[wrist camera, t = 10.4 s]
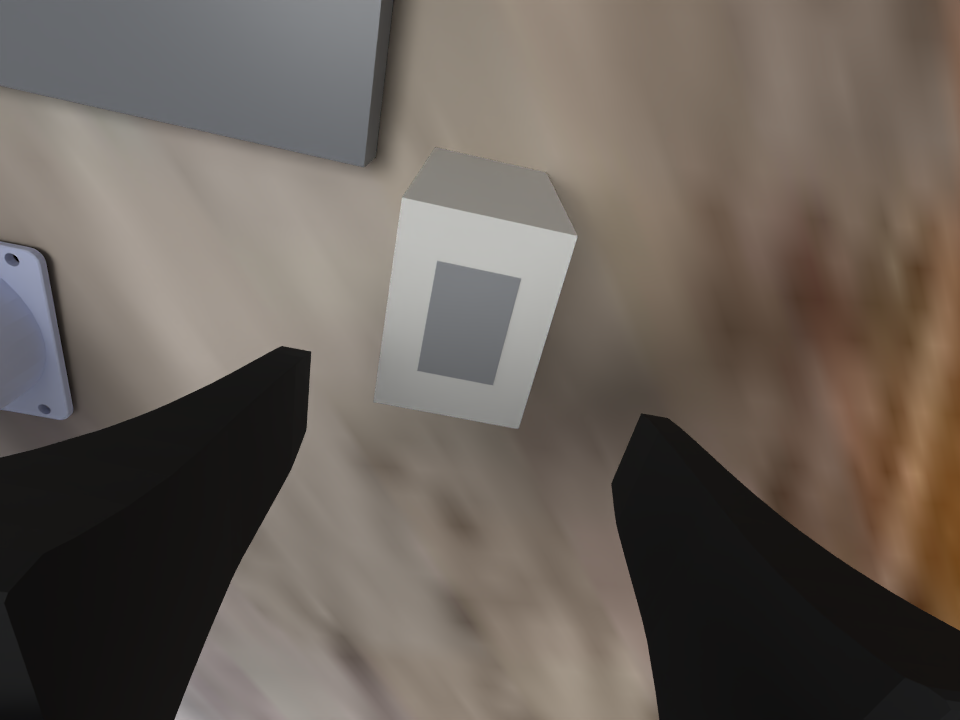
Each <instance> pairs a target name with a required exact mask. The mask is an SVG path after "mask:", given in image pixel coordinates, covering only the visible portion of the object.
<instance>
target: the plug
mask: <svg viewBox="0 0 960 720" xmlns="http://www.w3.org/2000/svg"><path fill="white" fill-rule="evenodd" d="M577 237H578V236H577V234H576V232H575V230H574V228H573V226H572V223H571V221H570V219H569V217H568V215H567V213H566V211H565V209H564V207H563V205H562V203H561V201H560V199H559V197H558V195H557V193H556V191H555V189H554V187H553V185H552V183H551V181H550V179H549V177H548V175H547V173H546V172H543V171H539V170H534V169H530V168H526V167H521V166H517V165H513V164H508V163H504V162H500V161H495V160H491V159H486V158H482V157H478V156H473V155H469V154H465V153H460V152H456V151H451V150H447V149H443V148H438V147H435V148H434V150H433V151H432V153H431V154H430V156H429V157H428V159H427V160H426V162H425V163H424V165H423V167H422V168H421V170H420V171H419V173H418V174H417V176H416V177H415V179H414V180H413V182H412V183H411V185H410V186H409V188H408V189H407V191H406V192H405V194H404V195H403V197H402V202H401V209H400V216H399V223H398V231H397V238H396V245H395V252H394V259H393V266H392V273H391V280H390V288H389V295H388V302H387V309H386V316H385V323H384V330H383V338H382V345H381V352H380V359H379V366H378V373H377V380H376V387H375V395H374V402H375V403H381V404H386V405H391V406H397V407H402V408H407V409H413V410H418V411H424V412H429V413H434V414H440V415H445V416H450V417H456V418H461V419H467V420H472V421H477V422H483V423H488V424H493V425H499V426H504V427H510V428H515V429H519V426H520V422H521V419H522V416H523V413H524V409H525V406H526V403H527V400H528V396H529V393H530V390H531V387H532V383H533V380H534V377H535V374H536V370H537V367H538V364H539V361H540V357H541V354H542V351H543V347H544V344H545V341H546V338H547V334H548V331H549V328H550V325H551V321H552V318H553V315H554V312H555V308H556V305H557V302H558V299H559V295H560V292H561V289H562V285H563V282H564V279H565V276H566V272H567V269H568V266H569V263H570V259H571V256H572V253H573V250H574V246H575V243H576V240H577Z"/></svg>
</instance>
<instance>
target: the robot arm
mask: <svg viewBox="0 0 960 720" xmlns="http://www.w3.org/2000/svg"><path fill="white" fill-rule="evenodd" d="M13 254H14V255H15V256H16V257H17V258H18V260H19V262H18V261H16V260H15V259H14V257H13ZM310 363H311V352H310V351H305V350H300V349H294V348H289V347H284V346H281V347H279V348H277V349H275V350H273V351H271V352H269V353H267V354H265V355H264V356H262V357H260V358H258V359H256V360H255V361H253V362H251V363H249V364H247V365H245V366H244V367H242V368H240V369H238V370H236V371H234V372H232V373H231V374H229V375H227V376H225V377H223V378H221V379H219V380H217V381H215V382H214V383H212V384H210V385H208V386H205V387H203V388H201V389H199V390H197V391H195V392H193V393H190V394H188V395H186V396H184V397H182V398H180V399H178V400H176V401H173V402H171V403H169V404H167V405H165V406H162V407H160V408H158V409H155V410H153V411H150V412H148V413H145V414H143V415H140V416H138V417H135V418H132V419H130V420H127V421H124V422H121V423H119V424H116V425H113V426H111V427H108V428H105V429H102V430H99V431H95V432H92V433H89V434H85V435H82V436H79V437H75V438H72V439H68V440H65V441H62V442H58V443H55V444H52V445H48V446H45V447H42V448H38V449H34V450H30V451H26V452H22V453H18V454H14V455H10V456H6V457H2V458H0V720H174V719H175V716H176V714H177V711H178V709H179V706H180V704H181V701H182V698H183V696H184V693H185V691H186V688H187V686H188V683H189V680H190V678H191V675H192V673H193V670H194V668H195V666H196V663H197V661H198V658H199V656H200V653H201V651H202V648H203V646H204V644H205V641H206V639H207V636H208V634H209V631H210V629H211V626H212V624H213V622H214V619H215V617H216V615H217V612H218V610H219V608H220V605H221V603H222V601H223V598H224V596H225V594H226V591H227V589H228V587H229V584H230V582H231V580H232V577H233V575H234V573H235V571H236V569H237V567H238V565H239V563H240V561H241V559H242V557H243V556H244V554H245V552H246V550H247V549H248V547H249V545H250V543H251V541H252V540H253V538H254V536H255V534H256V532H257V531H258V529H259V527H260V525H261V523H262V522H263V520H264V518H265V516H266V514H267V513H268V511H269V509H270V507H271V505H272V504H273V502H274V500H275V498H276V496H277V495H278V493H279V491H280V489H281V487H282V485H283V484H284V482H285V480H286V478H287V476H288V474H289V472H290V471H291V468H292V466H293V463H294V461H295V458H296V456H297V453H298V451H299V448H300V446H301V443H302V440H303V438H304V435H305V432H306V428H307V411H308V395H309V379H310ZM47 406H48V407H49V408H48V407H47ZM0 410H6V411H11V412H17V413H23V414H29V415H34V416H40V417H46V418H51V419H57V420H64V419H67V418H68V417H69V416H70V415H71V414H72V413H73V405H72V399H71V394H70V389H69V383H68V378H67V372H66V367H65V362H64V356H63V351H62V345H61V340H60V335H59V329H58V324H57V318H56V313H55V308H54V302H53V297H52V291H51V286H50V281H49V275H48V270H47V264H46V261H45V258H44V257H43V255H42V254H41V253H40V252H39V251H37V250H36V249H33V248H31V247H26V246H21V245H16V244H11V243H6V242H1V241H0ZM611 484H612V493H613V503H614V511H615V518H616V525H617V529H618V533H619V537H620V540H621V544H622V548H623V552H624V555H625V559H626V563H627V566H628V570H629V574H630V577H631V581H632V584H633V588H634V592H635V595H636V599H637V602H638V606H639V610H640V613H641V617H642V621H643V625H644V629H645V634H646V638H647V643H648V649H649V655H650V661H651V667H652V673H653V679H654V685H655V691H656V698H657V705H658V713H659V720H960V631H959V630H957V629H956V628H954V627H952V626H950V625H948V624H946V623H945V622H943V621H941V620H939V619H937V618H936V617H934V616H932V615H930V614H928V613H926V612H925V611H923V610H921V609H919V608H918V607H916V606H914V605H912V604H911V603H909V602H907V601H906V600H904V599H902V598H900V597H899V596H897V595H895V594H894V593H892V592H890V591H889V590H887V589H885V588H884V587H882V586H881V585H879V584H877V583H876V582H874V581H873V580H871V579H870V578H868V577H866V576H865V575H863V574H862V573H860V572H858V571H857V570H855V569H854V568H852V567H851V566H849V565H848V564H846V563H845V562H843V561H842V560H840V559H839V558H837V557H836V556H834V555H833V554H831V553H830V552H828V551H827V550H826V549H824V548H823V547H822V546H820V545H819V544H817V543H816V542H815V541H813V540H812V539H810V538H809V537H808V536H806V535H805V534H804V533H802V532H801V531H799V530H798V529H797V528H795V527H794V526H793V525H792V524H790V523H789V522H788V521H786V520H785V519H784V518H783V517H781V516H780V515H779V514H778V513H776V512H775V511H774V510H773V509H772V508H770V507H769V506H768V505H767V504H765V503H764V502H763V501H762V500H761V499H759V498H758V497H757V496H756V495H755V494H753V493H752V492H751V491H750V490H749V489H748V488H747V487H745V486H744V485H743V484H742V483H741V482H740V481H739V480H737V479H736V478H735V477H734V476H733V475H732V474H731V473H730V472H729V471H727V470H726V469H725V468H724V467H723V466H722V465H721V464H720V463H719V462H718V461H716V460H715V459H714V458H713V457H712V456H711V455H710V454H709V453H708V452H707V451H706V450H704V449H703V448H702V447H701V446H700V445H699V444H698V443H697V442H696V441H695V440H694V439H692V438H691V437H690V436H689V435H688V434H687V433H686V432H684V431H683V430H682V429H681V428H680V427H679V426H677V425H676V424H675V423H674V422H672V421H671V420H670V419H668V418H663V417H658V416H653V415H647V414H642V413H641V416H640V418H639V420H638V423H637V425H636V427H635V430H634V432H633V434H632V437H631V439H630V441H629V444H628V446H627V448H626V451H625V453H624V455H623V458H622V460H621V462H620V465H619V467H618V469H617V472H616V474H615V476H614V479H613V481H612V483H611Z"/></svg>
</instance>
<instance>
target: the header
mask: <svg viewBox="0 0 960 720" xmlns="http://www.w3.org/2000/svg"><path fill="white" fill-rule="evenodd" d="M393 1H394V0H0V86H4V87H8V88H13V89H17V90H22V91H26V92H31V93H35V94H40V95H44V96H48V97H53V98H57V99H62V100H66V101H71V102H75V103H80V104H84V105H89V106H93V107H98V108H102V109H106V110H111V111H115V112H120V113H124V114H129V115H133V116H138V117H142V118H147V119H151V120H155V121H160V122H164V123H169V124H173V125H178V126H182V127H187V128H191V129H196V130H200V131H205V132H209V133H213V134H218V135H222V136H227V137H231V138H236V139H240V140H245V141H249V142H254V143H258V144H263V145H267V146H271V147H276V148H280V149H285V150H289V151H294V152H298V153H303V154H307V155H312V156H316V157H320V158H325V159H329V160H334V161H338V162H343V163H347V164H352V165H356V166H361V167H365V166H366V165H367V164H368V163H370V162H371V161H372V160H373V159H374V158H376V151H377V142H378V133H379V124H380V115H381V107H382V98H383V89H384V80H385V72H386V63H387V54H388V45H389V36H390V28H391V19H392V10H393Z"/></svg>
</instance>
